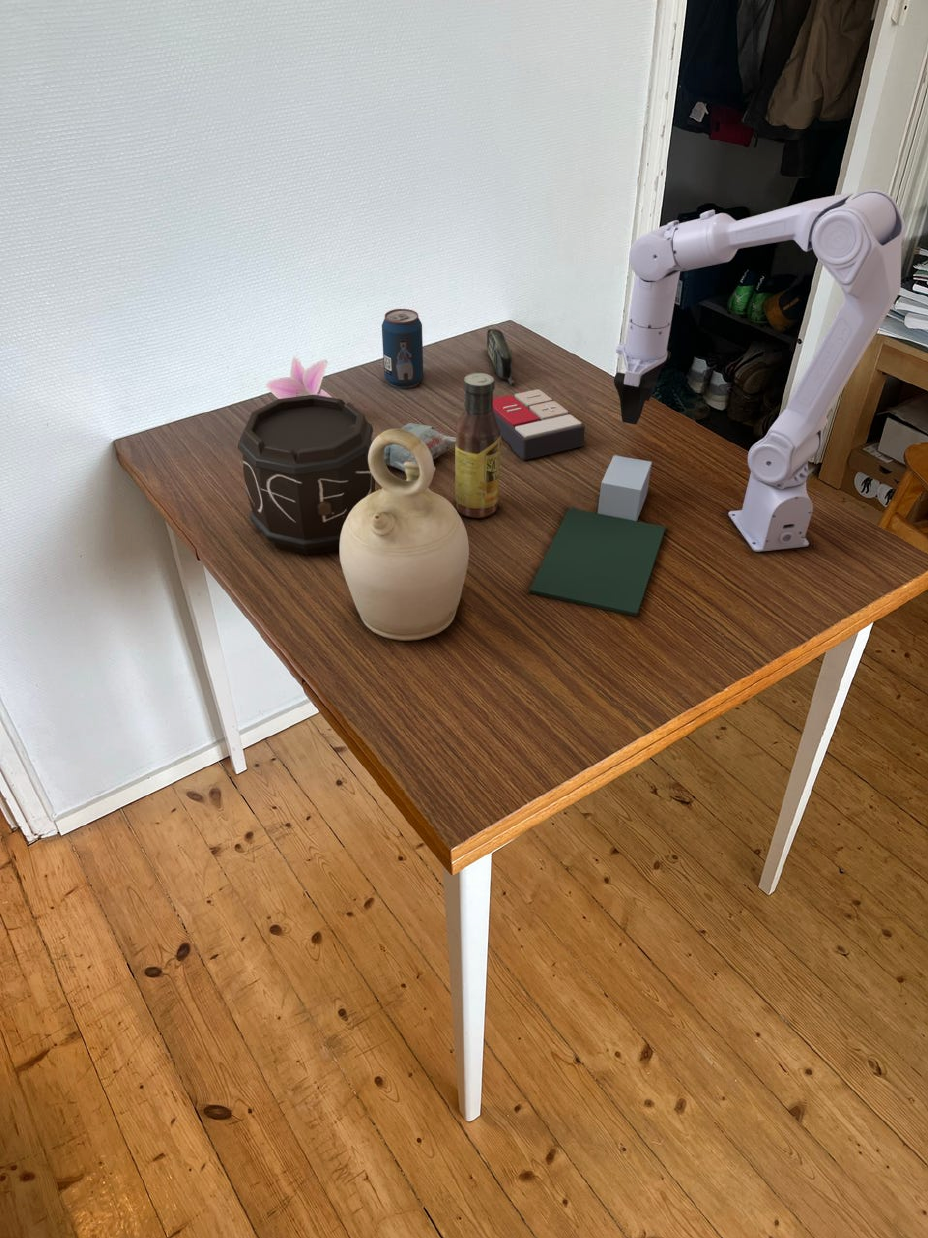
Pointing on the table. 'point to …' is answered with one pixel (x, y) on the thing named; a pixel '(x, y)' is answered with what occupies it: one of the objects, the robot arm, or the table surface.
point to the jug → (404, 548)
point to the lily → (300, 381)
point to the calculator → (536, 424)
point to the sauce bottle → (477, 450)
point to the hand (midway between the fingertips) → (636, 410)
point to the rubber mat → (599, 561)
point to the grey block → (624, 488)
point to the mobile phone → (500, 354)
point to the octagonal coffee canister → (306, 470)
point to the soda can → (402, 348)
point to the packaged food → (427, 434)
